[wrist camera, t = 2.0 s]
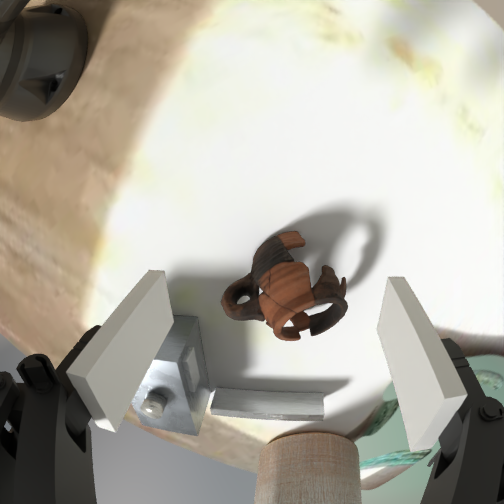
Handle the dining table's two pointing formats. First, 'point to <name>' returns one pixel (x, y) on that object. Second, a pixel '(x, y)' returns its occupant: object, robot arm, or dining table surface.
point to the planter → (309, 470)
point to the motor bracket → (206, 389)
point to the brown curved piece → (286, 291)
